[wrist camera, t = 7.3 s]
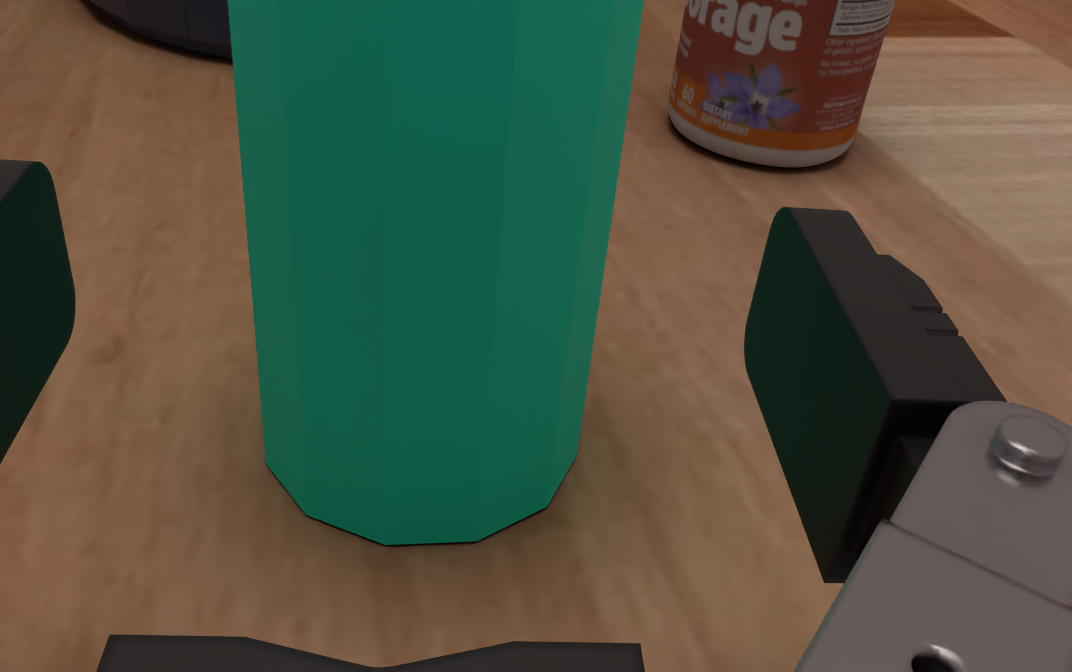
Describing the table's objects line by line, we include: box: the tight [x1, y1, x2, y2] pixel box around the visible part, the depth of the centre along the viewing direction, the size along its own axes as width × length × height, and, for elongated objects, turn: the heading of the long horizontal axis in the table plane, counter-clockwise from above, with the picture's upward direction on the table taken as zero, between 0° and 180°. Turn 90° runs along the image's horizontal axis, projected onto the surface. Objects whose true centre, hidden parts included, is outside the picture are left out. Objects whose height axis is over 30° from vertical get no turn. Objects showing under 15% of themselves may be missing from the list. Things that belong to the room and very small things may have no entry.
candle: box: [228, 0, 644, 545], centre depth 16 cm, size 6×6×12 cm
